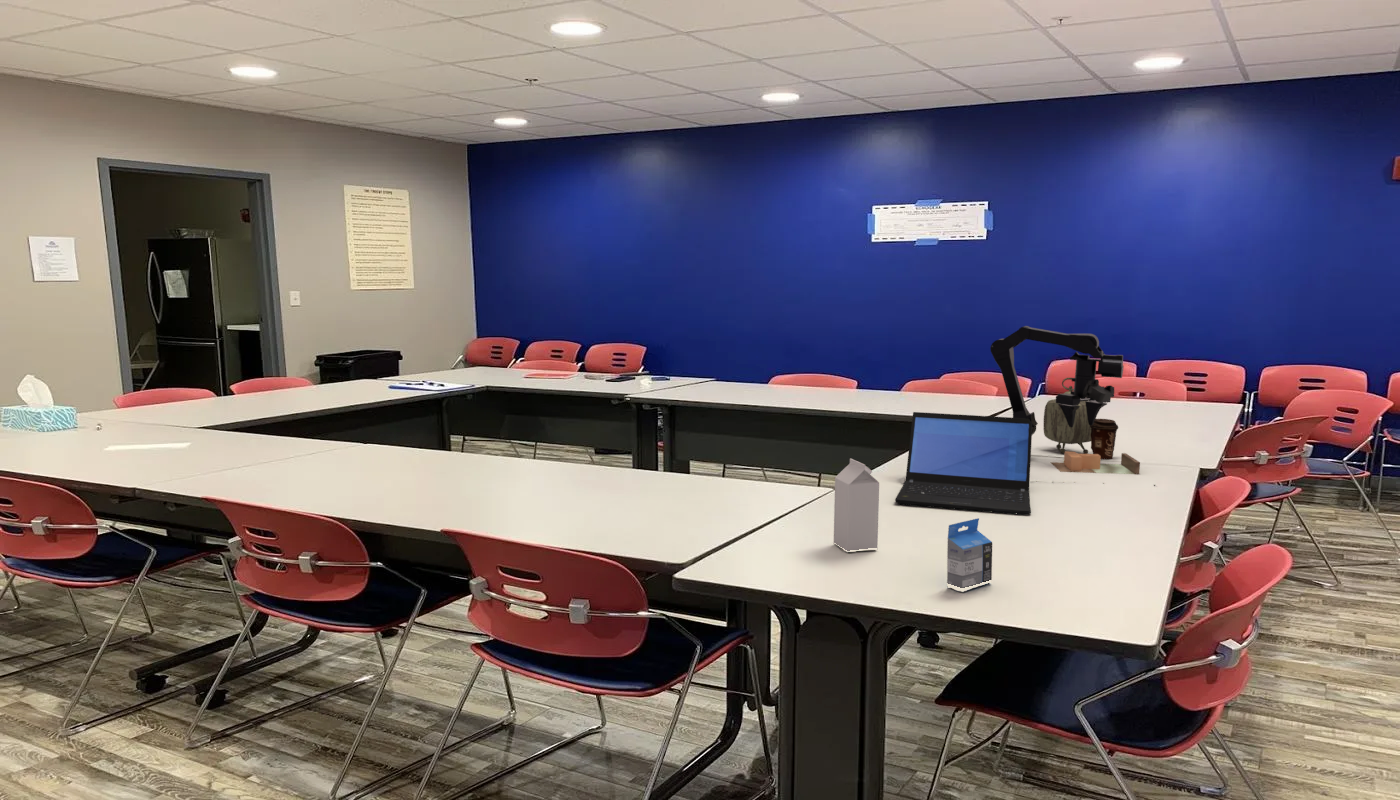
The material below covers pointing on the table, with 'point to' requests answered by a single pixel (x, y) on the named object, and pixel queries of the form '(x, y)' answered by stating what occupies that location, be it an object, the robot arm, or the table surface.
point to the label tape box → (968, 555)
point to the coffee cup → (1103, 437)
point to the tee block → (1081, 461)
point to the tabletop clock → (1066, 424)
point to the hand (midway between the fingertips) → (1080, 426)
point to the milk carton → (856, 508)
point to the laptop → (968, 463)
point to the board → (1108, 467)
